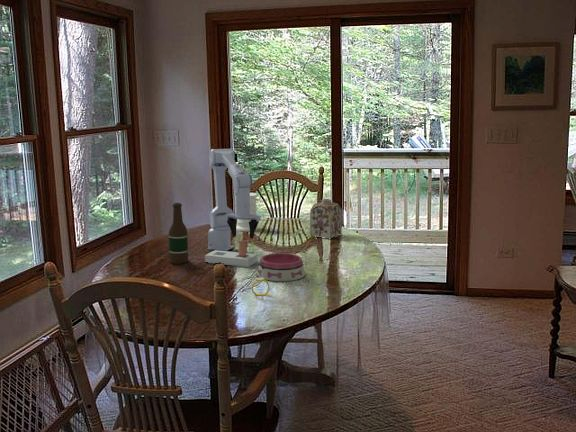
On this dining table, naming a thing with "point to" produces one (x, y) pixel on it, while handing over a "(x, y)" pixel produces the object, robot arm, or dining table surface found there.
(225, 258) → the hole block
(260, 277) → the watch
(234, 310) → the dining table surface
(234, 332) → the dining table surface
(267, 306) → the dining table surface
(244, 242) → the peg
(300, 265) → the dog bowl
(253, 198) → the decorative container
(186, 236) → the beer bottle
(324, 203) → the decorative jar
